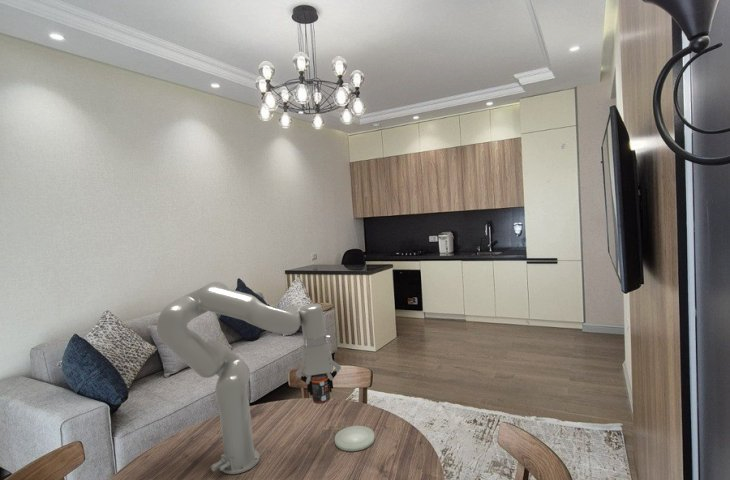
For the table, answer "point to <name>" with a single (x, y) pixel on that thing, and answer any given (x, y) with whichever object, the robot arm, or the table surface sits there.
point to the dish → (354, 438)
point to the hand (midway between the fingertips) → (320, 391)
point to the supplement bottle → (320, 388)
